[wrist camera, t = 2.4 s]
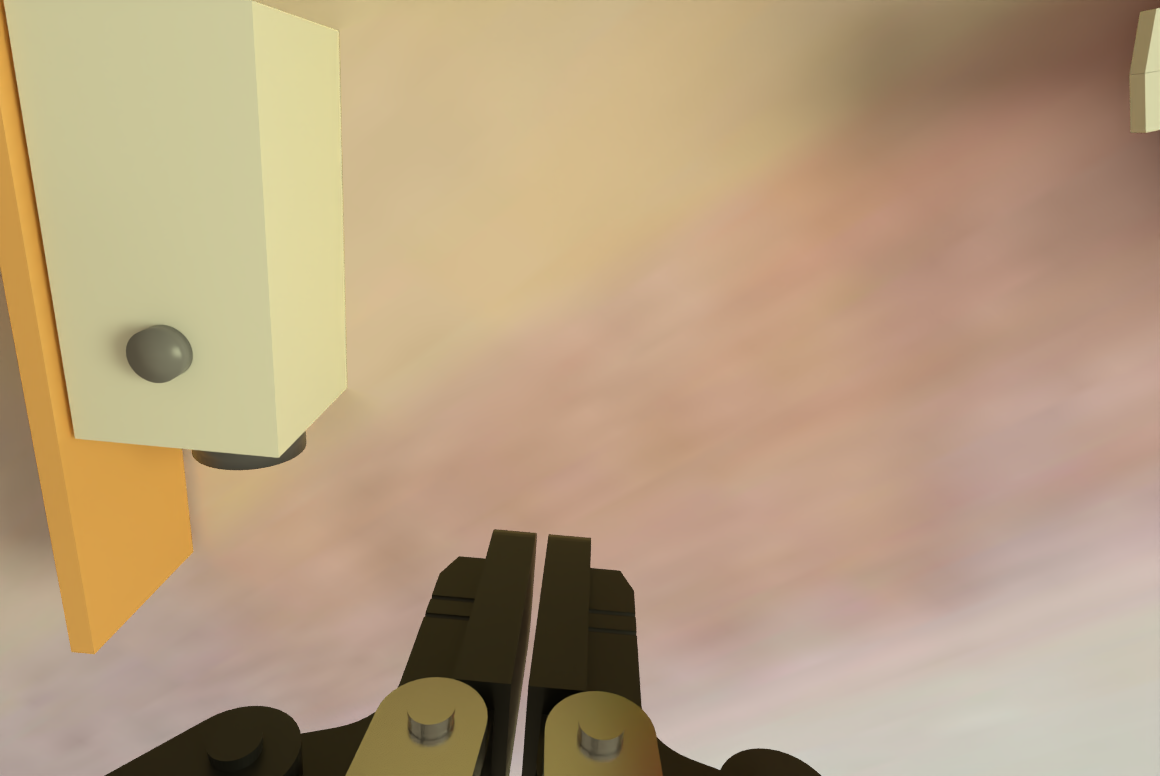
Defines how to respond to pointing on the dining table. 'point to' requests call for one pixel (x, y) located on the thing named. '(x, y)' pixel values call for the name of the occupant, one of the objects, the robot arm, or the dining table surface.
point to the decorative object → (1146, 74)
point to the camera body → (189, 218)
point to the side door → (67, 465)
